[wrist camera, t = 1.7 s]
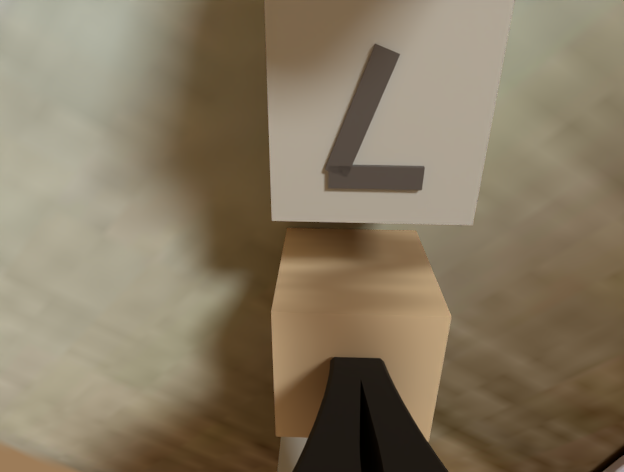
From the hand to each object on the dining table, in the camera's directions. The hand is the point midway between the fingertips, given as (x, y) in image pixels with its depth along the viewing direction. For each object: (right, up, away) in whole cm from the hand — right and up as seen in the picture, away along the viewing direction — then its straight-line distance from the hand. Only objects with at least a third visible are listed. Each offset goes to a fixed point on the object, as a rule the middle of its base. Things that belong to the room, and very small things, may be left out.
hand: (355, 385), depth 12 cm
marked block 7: (0, +9, +1) cm, 9 cm away
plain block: (0, +2, +5) cm, 5 cm away
